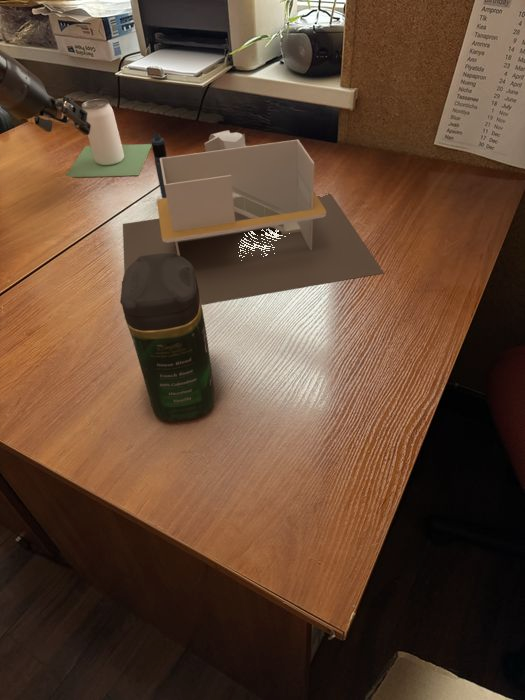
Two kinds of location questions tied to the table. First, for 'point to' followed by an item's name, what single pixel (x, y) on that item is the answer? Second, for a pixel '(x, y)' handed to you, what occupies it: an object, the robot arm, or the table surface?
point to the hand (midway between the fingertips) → (68, 128)
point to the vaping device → (159, 153)
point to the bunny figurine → (225, 141)
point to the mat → (126, 167)
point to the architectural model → (250, 223)
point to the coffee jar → (169, 335)
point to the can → (103, 132)
